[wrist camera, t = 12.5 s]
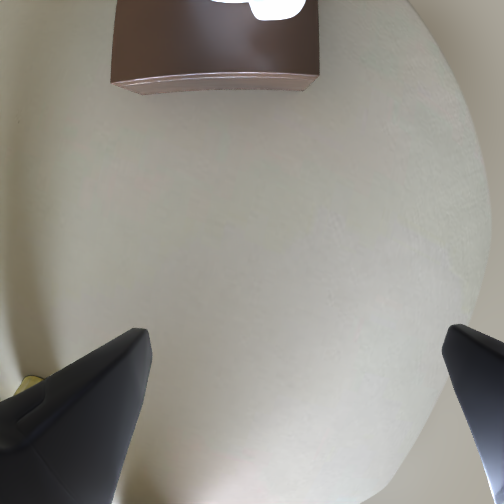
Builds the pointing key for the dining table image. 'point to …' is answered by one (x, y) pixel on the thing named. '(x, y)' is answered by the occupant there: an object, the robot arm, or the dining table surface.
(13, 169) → the dining table surface
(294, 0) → the mug
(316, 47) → the wooden box
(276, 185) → the dining table surface
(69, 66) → the dining table surface
